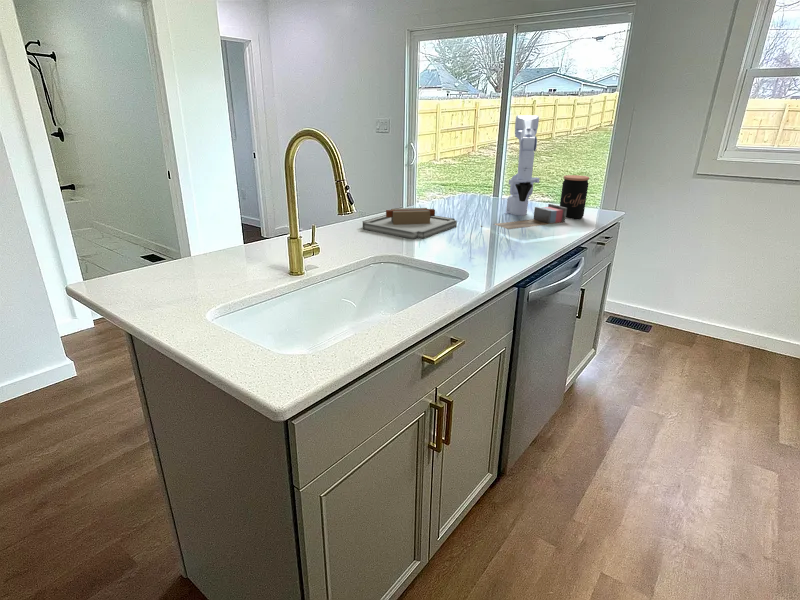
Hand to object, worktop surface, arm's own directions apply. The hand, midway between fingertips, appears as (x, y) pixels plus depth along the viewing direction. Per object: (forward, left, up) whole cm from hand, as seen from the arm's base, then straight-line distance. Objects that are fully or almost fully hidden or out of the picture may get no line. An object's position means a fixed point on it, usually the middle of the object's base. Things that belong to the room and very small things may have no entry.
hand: (522, 201), depth 196 cm
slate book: (+5, +10, -8) cm, 14 cm away
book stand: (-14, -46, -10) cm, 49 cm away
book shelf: (+5, +1, -9) cm, 11 cm away
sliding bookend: (+5, +7, -8) cm, 12 cm away
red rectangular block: (+5, +13, -8) cm, 16 cm away
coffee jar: (+1, +28, -10) cm, 30 cm away
